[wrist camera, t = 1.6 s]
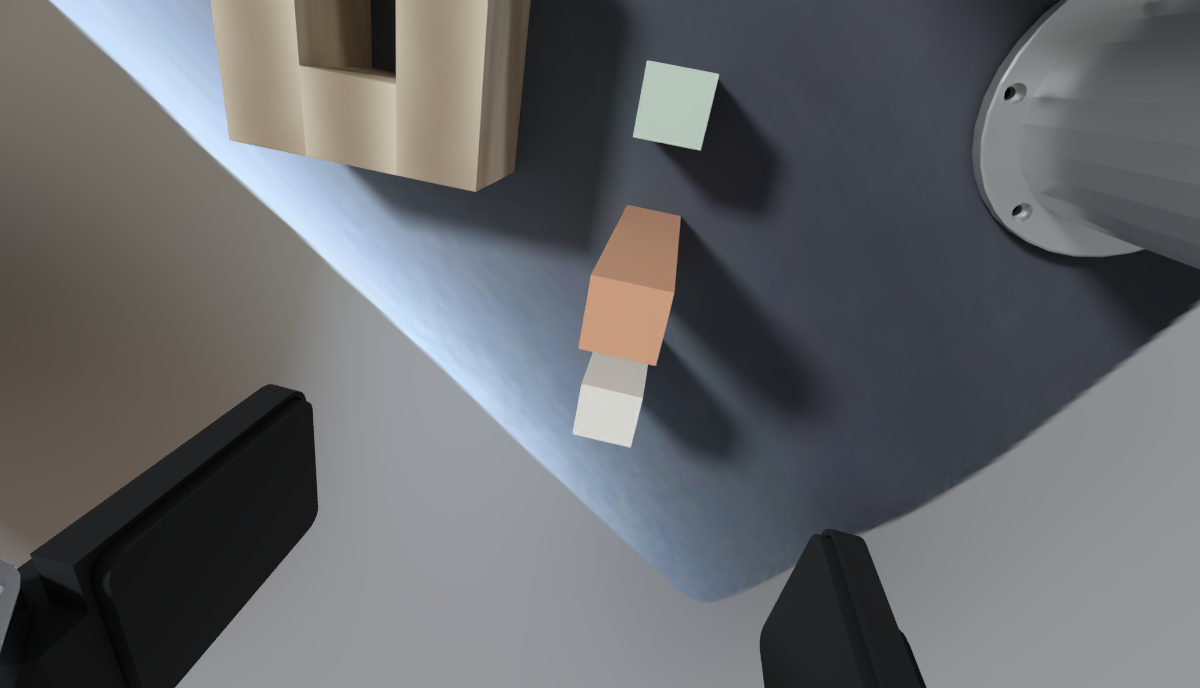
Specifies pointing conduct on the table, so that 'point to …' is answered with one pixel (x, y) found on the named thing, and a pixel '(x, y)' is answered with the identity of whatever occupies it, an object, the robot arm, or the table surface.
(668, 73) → the short pin
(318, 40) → the hole block
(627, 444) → the medium pin
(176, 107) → the table surface
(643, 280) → the tan bar
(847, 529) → the table surface
